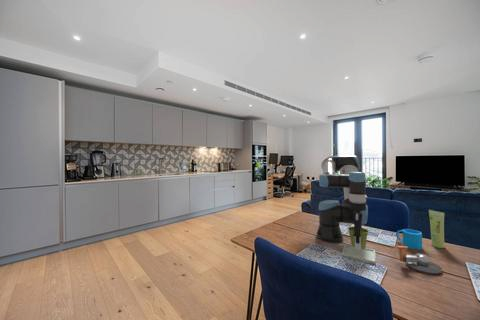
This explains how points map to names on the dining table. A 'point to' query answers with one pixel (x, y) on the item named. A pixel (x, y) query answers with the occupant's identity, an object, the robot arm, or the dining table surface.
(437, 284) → the dining table surface
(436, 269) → the crank plate
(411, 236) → the mug
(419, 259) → the crank
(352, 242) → the plant pot
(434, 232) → the tube
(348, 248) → the tray
